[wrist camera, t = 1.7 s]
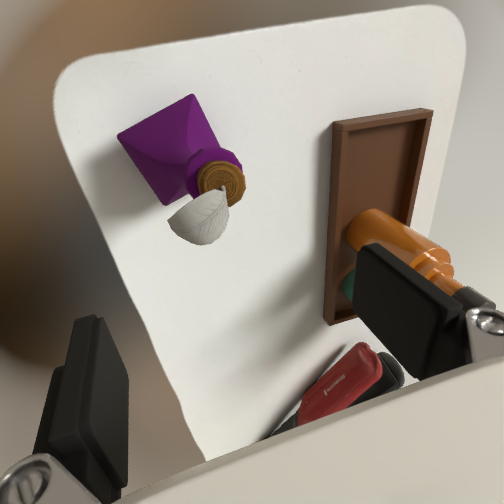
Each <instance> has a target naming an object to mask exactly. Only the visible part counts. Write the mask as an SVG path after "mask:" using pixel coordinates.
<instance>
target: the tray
mask: <svg viewBox="0 0 504 504" xmlns="http://www.w3.org/2000/svg"><path fill="white" fill-rule="evenodd" d="M432 116H433V110H429V109H424V108H418V109H412V110H405V111H399V112H392V113H386V114H379V115H373V116H366V117H360V118H354V119H347V120H341V121H334V122H333V139H332V158H331V177H330V196H329V216H328V235H327V254H326V273H325V292H324V311H323V318H324V320H325V321H326V322H327V324H328V325H329V326H331V325H334V324H338V323H341V322H344V321H348V320H351V319H354V318H357V317H358V316H357V314H356V313H355V312H354V310H353V308H352V304H351V303H350V301H349V300H348V299H347V298H346V297H345V296H344V294H343V292H342V284H343V281H344V279H345V277H346V276H347V275H348V274H349V273H350V272H351V271H352V270H353V269H355V267H356V258H357V252H355V251H354V250H353V249H352V248H351V247H350V246H349V245H348V242H347V230H348V228H349V226H350V224H351V222H352V221H353V220H354V218H355V217H356V216H358V215H359V214H360V213H362V212H363V211H365V210H368V209H380V210H382V211H384V212H385V213H387V214H388V215H390V216H392V217H393V218H395V219H396V220H398V221H400V222H401V223H403V224H405V225H406V226H408V227H409V228H410V223H411V218H412V214H413V209H414V204H415V199H416V194H417V189H418V184H419V180H420V175H421V170H422V165H423V160H424V155H425V150H426V145H427V141H428V136H429V131H430V126H431V121H432Z"/></svg>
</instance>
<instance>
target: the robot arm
mask: <svg viewBox="0 0 504 504" xmlns="http://www.w3.org/2000/svg"><path fill="white" fill-rule="evenodd" d="M462 307H463V305H462V304H461V303H459V302H458V301H457V300H455V299H454V298H452V297H451V296H450V295H448V294H447V293H446V292H444V291H443V290H442V289H440V288H439V287H438V286H436V285H435V284H433V283H432V282H431V281H429V280H428V279H427V278H425V277H424V276H423V275H421V274H420V273H418V272H417V271H416V270H414V269H413V268H412V267H410V266H409V265H408V264H406V263H405V262H403V261H402V260H401V259H399V258H398V257H397V256H395V255H394V254H393V253H391V252H390V251H389V250H387V249H386V248H384V247H383V246H382V245H380V244H379V243H371V244H368V245H364V246H362V247H361V248H360V250H359V251H358V252H357V258H356V267H355V277H354V286H353V296H352V308H353V310H354V312H355V313H356V314H357V316H358V317H359V318H360V319H361V320H362V321H363V322H364V323H365V325H366V326H367V327H368V328H369V329H370V330H371V331H372V332H373V334H374V335H375V336H376V337H377V338H378V339H379V340H380V341H381V343H382V344H383V345H384V346H385V347H386V348H387V349H388V350H389V352H390V353H391V354H392V355H393V356H394V357H395V358H396V359H397V361H398V362H399V363H400V364H401V365H402V366H403V367H404V368H405V370H406V371H407V372H408V373H409V374H410V375H411V376H412V377H414V378H417V379H418V380H419V382H416V383H414V384H411V385H408V386H406V387H403V388H400V389H398V390H395V391H392V392H389V393H387V394H384V395H381V396H379V397H376V398H373V399H370V400H368V401H365V402H362V403H360V404H357V405H354V406H352V407H349V408H346V409H344V410H341V411H338V412H336V413H333V414H330V415H328V416H325V417H322V418H320V419H317V420H315V421H312V422H309V423H307V424H304V425H301V426H299V427H296V428H293V429H291V430H288V431H285V432H283V433H280V434H278V435H275V436H272V437H270V438H267V439H264V440H262V441H259V442H257V443H254V444H251V445H249V446H246V447H244V448H241V449H238V450H236V451H233V452H230V453H228V454H225V455H223V456H220V457H217V458H215V459H212V460H210V461H207V462H205V463H202V464H200V465H197V466H195V467H192V468H190V469H187V470H185V471H182V472H180V473H177V474H175V475H172V476H170V477H167V478H165V479H162V480H160V481H157V482H155V483H153V484H151V485H148V486H146V487H144V488H142V489H139V490H137V491H135V492H133V493H131V494H128V495H126V496H125V497H123V498H121V488H124V487H126V486H127V482H128V406H129V401H128V399H129V397H128V396H129V393H128V392H129V379H128V374H127V371H126V368H125V366H124V363H123V361H122V359H121V357H120V354H119V352H118V350H117V348H116V345H115V343H114V341H113V338H112V336H111V334H110V331H109V329H108V327H107V325H106V322H105V320H104V318H103V317H101V318H97V316H96V315H90V316H86V317H82V318H78V319H76V320H75V321H74V325H73V330H72V334H71V339H70V344H69V348H68V352H67V357H66V362H65V365H64V366H60V367H57V368H56V369H55V370H54V372H53V374H52V378H51V382H50V386H49V390H48V394H47V398H46V402H45V406H44V410H43V414H42V418H41V422H40V426H39V429H38V433H37V437H36V441H35V445H34V449H33V453H32V455H30V456H28V457H26V458H24V459H22V460H20V461H18V462H17V463H15V464H14V465H13V466H11V467H10V468H9V469H8V470H7V471H6V472H5V473H4V474H3V475H2V476H1V477H0V504H504V313H503V312H500V311H498V310H495V309H491V308H484V307H478V308H473V309H470V310H469V311H468V312H467V313H465V312H464V311H463V310H462Z"/></svg>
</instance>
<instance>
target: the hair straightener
mask: <svg viewBox="0 0 504 504" xmlns="http://www.w3.org/2000/svg"><path fill="white" fill-rule="evenodd" d="M403 384H404V373H403V371H402V368H401V366H400V365H399V363H398V362H397V361H396V360H395V359H394V358H393V357H392V356H391V355H389V354H388V353H385V352H380V353H378V354H376V353H375V352H373V351H372V350H371V349H370V346H369V345H368V344H367V343H364V342H359V343H357V344H356V345H355V346H354V347H353V348H352V349H351V350H350V351H348V352H347V353H346V354H345V355H344V356H343V357H342V358H341V359H340V360H339V361H338V362H337V363H336V364H335V365H334V366H333V367H332V368H330V369H329V370H328V371H327V372H326V373H325V374H324V375H323V376H322V377H321V378H320V379H319V380H318V381H317V382H316V383H315V384H313V386H311V387H310V388H309V389H308V390H307V391H306V392H305V393H304V395H303V398H302V402H301V405H300V407H299V409H298V410H297V411H296V413H295V414H294V415H292V416H291V417H290V418H289V419H288V420H287V421H286V422H285V423H283V424H282V425H281V427H280V428H279V429H278V430H276V431H275V432H274V433H273V434H272V435H271V436H270V437H272V436H275V435H278V434H280V433H283V432H285V431H288V430H291V429H293V428H296V427H299V426H301V425H304V424H307V423H309V422H312V421H315V420H317V419H320V418H322V417H325V416H328V415H330V414H333V413H336V412H338V411H341V410H344V409H346V408H349V407H352V406H354V405H357V404H360V403H362V402H365V401H368V400H370V399H373V398H376V397H379V396H381V395H384V394H387V393H389V392H392V391H395V390H398V389H399V388H401V387H402V386H403ZM270 437H269V438H270Z"/></svg>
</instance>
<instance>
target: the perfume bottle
mask: <svg viewBox="0 0 504 504" xmlns="http://www.w3.org/2000/svg"><path fill="white" fill-rule="evenodd" d="M117 139H118V140H119V141H120V143H121V144H122V146H123V147H124V149H125V150H126V152H127V153H128V155H129V156H130V158H131V159H132V160H133V162H134V163H135V165H136V166H137V168H138V169H139V171H140V172H141V174H142V175H143V176H144V178H145V179H146V181H147V182H148V184H149V185H150V187H151V188H152V190H153V191H154V193H155V194H156V195H157V197H158V198H159V200H160V201H161V203H162V204H163V205H164V206H167V205H169V204H171V203H172V202H174V201H176V200H178V199H180V198H181V197H183V196H185V195H187V194H188V193H189V194H190V195H191V197H192V198H193V200H192V201H191V202H189V203H188V204H186V205H185V206H183V207H182V208H181V209H180V210H178V211H177V212H176V213H175V214H174V215H173V216H172V217H171V218H169V219H168V220H167V221H168V223H169V225H170V227H171V229H172V230H173V231H174V232H175V233H176V234H177V235H178V236H179V237H181V238H183V239H185V240H187V241H189V242H190V243H193V244H196V245H206V244H211V243H212V242H214V241H215V240H216V239H218V238H219V237H220V236H221V234H222V233H223V231H224V230H225V228H226V225H227V221H228V218H229V211H228V207H231V206H233V205H234V204H235V203H237V202H238V201H240V200H241V198H242V196H243V194H244V191H245V189H246V185H245V176H244V175H243V172H242V165H241V164H240V162H239V161H238V159H237V158H236V156H235V155H234V154H233V152H230V151H228V150H226V149H223V148H221V147H220V145H219V143H218V141H217V139H216V137H215V135H214V133H213V131H212V129H211V127H210V125H209V123H208V121H207V119H206V117H205V115H204V113H203V111H202V109H201V107H200V105H199V103H198V101H197V99H196V97H195V95H194V94H190V95H188V96H186V97H184V98H183V99H181V100H179V101H177V102H175V103H173V104H172V105H170V106H168V107H166V108H164V109H163V110H161V111H159V112H157V113H155V114H154V115H152V116H150V117H148V118H146V119H144V120H143V121H141V122H139V123H137V124H135V125H134V126H132V127H130V128H128V129H126V130H124V131H123V132H121V133H119V134H118V135H117Z"/></svg>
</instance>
